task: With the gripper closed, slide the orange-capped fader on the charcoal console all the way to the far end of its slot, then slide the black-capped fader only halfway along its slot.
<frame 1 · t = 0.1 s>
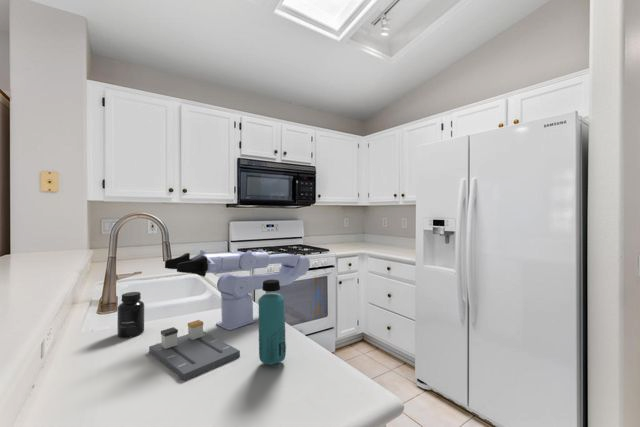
hand: (171, 266, 82), 22 cm above the counter, tool horizontal, fingers open, 7 cm apart
fader orange: (195, 329, 83), point 4 cm above the counter, slide at 0.0 cm
beverage bottle: (272, 364, 72), on the counter
fader black: (169, 337, 78), point 4 cm above the counter, slide at 0.0 cm
supplement bottle: (131, 334, 90), on the counter
console: (193, 354, 77), on the counter
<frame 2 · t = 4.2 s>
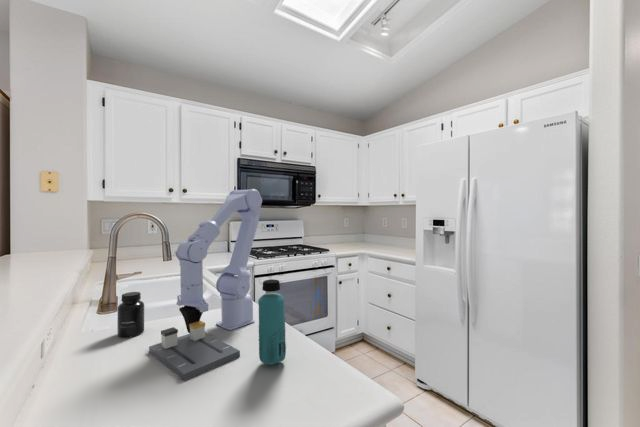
hand: (192, 331, 85), 3 cm above the counter, tool pointing down, fingers closed
fader orange: (197, 330, 83), point 4 cm above the counter, slide at 1.0 cm, touching gripper
everything else where it was.
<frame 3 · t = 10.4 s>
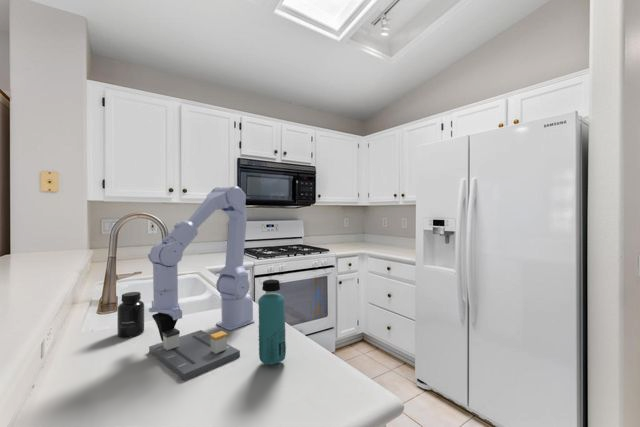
hand: (166, 340, 79), 3 cm above the counter, tool pointing down, fingers closed
fader orange: (218, 342, 75), point 4 cm above the counter, slide at 12.1 cm
fader black: (171, 339, 77), point 4 cm above the counter, slide at 1.1 cm, touching gripper
everything else where it was.
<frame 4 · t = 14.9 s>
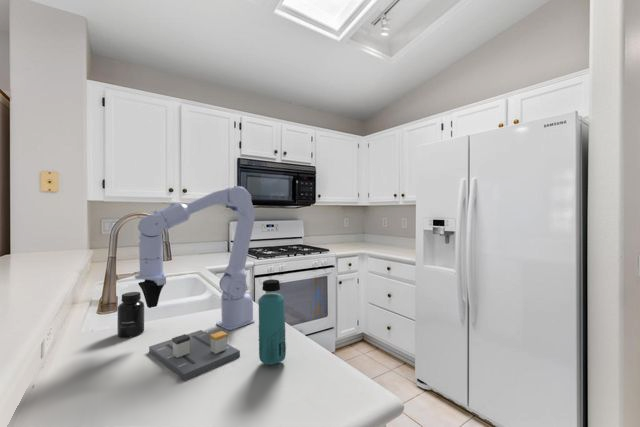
hand: (152, 306, 84), 10 cm above the counter, tool pointing down, fingers closed
fader black: (181, 345, 74), point 4 cm above the counter, slide at 6.8 cm
everything else where it was.
at the end: fader orange slide at 12.1 cm; fader black slide at 6.8 cm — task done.
